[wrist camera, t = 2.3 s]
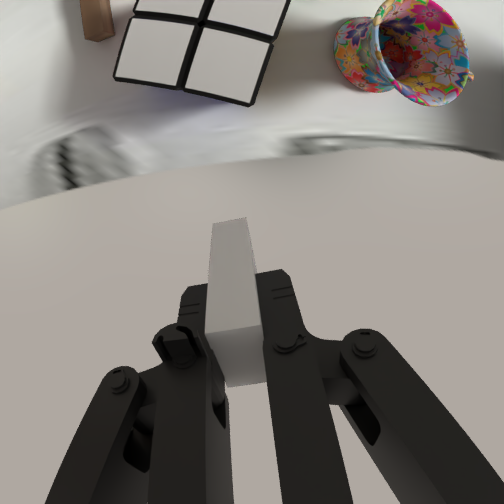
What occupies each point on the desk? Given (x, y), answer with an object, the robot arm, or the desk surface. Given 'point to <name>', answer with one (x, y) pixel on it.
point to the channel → (97, 19)
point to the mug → (405, 52)
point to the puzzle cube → (201, 46)
